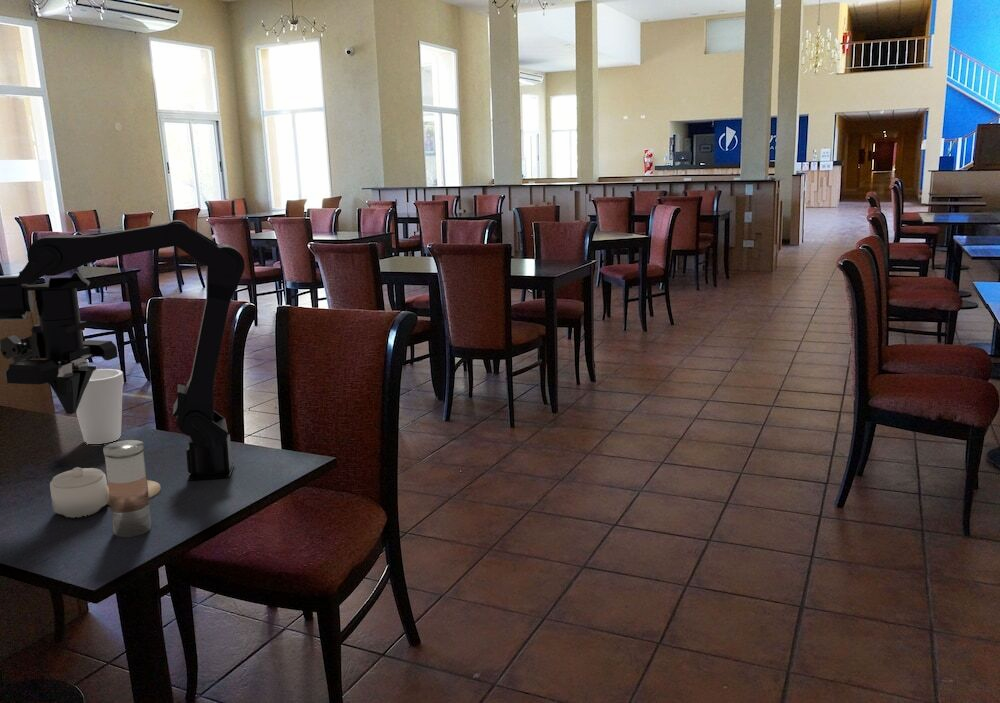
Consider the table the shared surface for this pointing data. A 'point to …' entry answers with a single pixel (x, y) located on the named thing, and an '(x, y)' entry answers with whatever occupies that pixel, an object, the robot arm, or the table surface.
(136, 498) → the tea canister
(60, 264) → the robot arm
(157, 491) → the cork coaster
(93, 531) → the table surface
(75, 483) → the sugar bowl
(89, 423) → the foam cup
